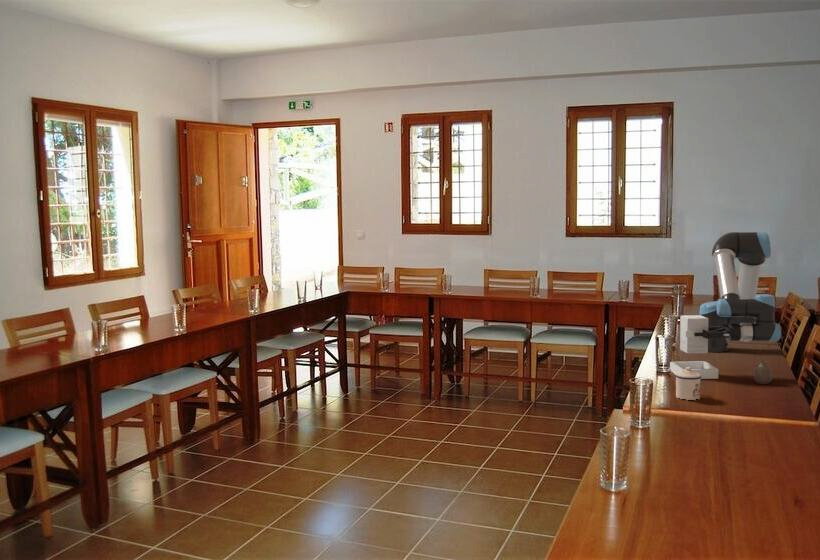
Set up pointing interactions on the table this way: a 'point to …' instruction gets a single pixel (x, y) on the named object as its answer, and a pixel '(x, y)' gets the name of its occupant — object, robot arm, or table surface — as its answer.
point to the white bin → (696, 368)
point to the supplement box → (693, 342)
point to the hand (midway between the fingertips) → (683, 331)
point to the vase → (763, 373)
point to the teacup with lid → (688, 384)
